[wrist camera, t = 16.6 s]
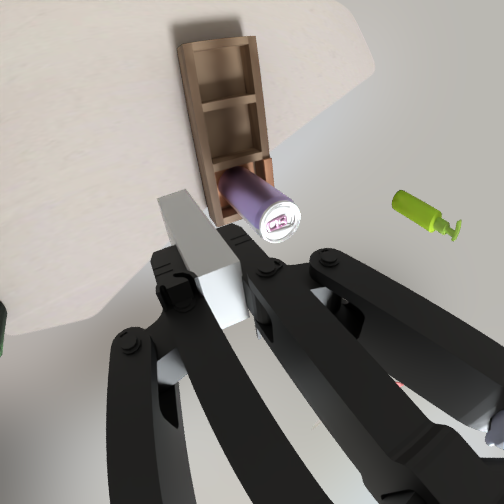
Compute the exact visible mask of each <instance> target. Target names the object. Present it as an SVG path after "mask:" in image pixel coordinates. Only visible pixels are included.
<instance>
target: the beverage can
mask: <svg viewBox="0 0 504 504" xmlns="http://www.w3.org/2000/svg"><path fill="white" fill-rule="evenodd" d="M218 188H219V192H220V194H221V196H222V197H223V198H224V199H225V200H226V201H227V202H228V203H229V204H230V205H231V206H232V207H233V208H234V210H235V211H236V212H237V213H238V214H239V215H240V216H241V217H242V218H243V219H244V220H245V221H246V222H247V223H248V224H249V225H250V226H251V228H252V229H253V230H254V231H255V232H256V233H257V234H258V235H259V236H260V237H261V238H263V239H265V240H267V241H268V242H271V243H279V242H283V241H285V240H287V239H288V238H290V237H291V236H292V235H293V234H294V233H295V231H296V230H297V228H298V226H299V223H300V219H301V214H300V210H299V208H298V206H297V205H296V204H295V203H294V202H293V201H292V199H290V198H289V197H287V196H286V195H284V194H283V193H282V192H280V191H279V190H277V189H276V188H275V187H273V186H272V185H270V184H269V183H267V182H266V181H264V180H263V179H261V178H260V177H258V176H257V175H255V174H254V173H252V172H251V171H249V170H248V169H246V168H244V167H241V166H235V167H232V168H230V169H228V170H226V171H225V172H224V173H223V175H222V176H221V178H220V180H219V185H218Z"/></svg>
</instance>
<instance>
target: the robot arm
mask: <svg viewBox="0 0 504 504" xmlns="http://www.w3.org/2000/svg"><path fill="white" fill-rule="evenodd" d="M157 200H158V203H159V207H160V210H161V214H162V217H163V220H164V223H165V227H166V230H167V233H168V236H169V239H170V242H171V245H172V246H170V247H167V248H164V249H162V250H159V251H156V252H154V253H153V255H152V258H151V261H150V262H151V265H152V269H153V272H154V275H155V279H156V282H157V286H156V295H157V297H158V299H159V301H160V303H161V305H162V307H163V311H162V313H161V316H160V317H159V318H158V320H157V321H156V322H155V323H153V324H152V325H151V326H149V327H148V328H147V329H143V328H140V327H130V328H127V329H125V330H123V331H122V332H120V333H119V334H118V335H117V336H116V337H115V339H114V340H113V343H112V346H111V352H110V362H109V374H108V388H107V413H106V448H107V449H106V450H107V473H108V486H109V496H110V504H196V499H195V494H194V489H193V484H192V478H191V473H190V467H189V461H188V455H187V448H186V441H185V434H184V427H183V419H182V411H181V402H180V392H179V382H178V381H179V380H180V379H182V378H183V377H184V376H185V375H187V374H188V375H189V378H190V380H191V383H192V385H193V388H194V390H195V392H196V395H197V397H198V399H199V401H200V404H201V406H202V408H203V410H204V412H205V415H206V417H207V419H208V421H209V423H210V425H211V427H212V429H213V431H214V433H215V435H216V437H217V440H218V442H219V443H220V445H221V447H222V449H223V451H224V453H225V455H226V457H227V459H228V461H229V463H230V465H231V466H232V468H233V470H234V472H235V474H236V475H237V477H238V479H239V481H240V482H241V484H242V486H243V488H244V489H245V491H246V493H247V494H248V496H249V498H250V499H251V501H252V503H253V504H334V503H333V502H332V501H331V500H330V499H329V497H328V496H327V495H326V494H325V492H324V491H323V489H322V488H321V487H320V486H319V484H318V483H317V481H316V480H315V479H314V477H313V476H312V474H311V473H310V471H309V470H308V469H307V467H306V466H305V464H304V463H303V461H302V460H301V458H300V457H299V455H298V454H297V453H296V451H295V450H294V448H293V447H292V445H291V444H290V442H289V441H288V439H287V438H286V436H285V434H284V433H283V432H282V430H281V428H280V427H279V425H278V424H277V422H276V421H275V419H274V417H273V416H272V414H271V413H270V411H269V409H268V408H267V406H266V405H265V403H264V401H263V400H262V398H261V396H260V395H259V393H258V392H257V390H256V388H255V387H254V385H253V383H252V382H251V380H250V378H249V376H248V375H247V373H246V371H245V370H244V368H243V366H242V365H241V363H240V361H239V359H238V358H237V356H236V354H235V352H234V351H233V349H232V347H231V345H230V343H229V342H228V340H227V338H226V336H225V334H224V333H223V331H222V329H224V328H226V327H228V326H231V325H233V324H235V323H238V322H240V321H242V320H245V319H247V318H249V317H250V316H249V310H250V312H251V313H252V315H253V316H254V321H255V327H256V334H257V337H258V339H260V338H261V335H262V337H263V338H264V340H265V341H266V343H267V344H268V346H269V347H270V349H271V350H272V351H273V353H274V354H275V356H276V357H277V359H278V360H279V362H280V363H281V364H282V366H283V368H284V369H285V370H286V372H287V373H288V375H289V376H290V378H291V379H292V380H293V382H294V383H295V385H296V386H297V388H298V389H299V391H300V392H301V393H302V395H303V396H304V398H305V399H306V400H307V402H308V403H309V405H310V406H311V407H312V409H313V410H314V411H315V413H316V414H317V416H318V417H319V419H320V420H321V421H322V423H323V424H324V425H325V427H326V428H327V429H328V431H329V432H330V434H331V435H332V436H333V438H334V439H335V440H336V442H337V443H338V444H339V446H340V447H341V448H342V450H343V451H344V452H345V454H346V455H347V456H348V458H349V459H350V460H351V461H352V463H353V464H354V465H355V467H356V468H357V469H358V470H359V472H360V473H361V475H362V479H363V483H364V485H365V486H366V488H367V489H368V490H369V492H370V493H371V494H372V495H373V497H374V498H375V499H376V501H377V502H378V503H379V504H504V458H480V457H479V456H478V455H477V454H476V453H475V452H474V450H473V449H472V448H471V447H470V446H469V445H468V443H466V441H465V440H464V439H463V438H462V437H461V435H460V434H459V433H458V432H456V431H455V430H454V429H453V428H451V427H449V426H447V425H441V424H435V423H433V422H431V421H430V420H429V419H428V418H427V417H426V416H425V415H424V414H423V413H422V411H421V410H420V409H419V408H418V407H417V406H416V405H415V404H414V402H413V401H412V400H411V399H410V398H409V397H408V396H407V394H406V393H405V392H404V391H403V390H402V389H401V388H400V387H399V386H398V384H397V383H396V382H395V381H394V380H393V379H392V378H391V377H390V376H392V377H393V378H395V379H396V380H398V381H399V382H401V383H402V384H404V385H405V386H407V387H408V388H409V389H411V390H412V391H414V392H415V393H417V394H418V395H420V396H422V397H423V398H424V399H426V400H427V401H429V402H430V403H432V404H433V405H435V406H436V407H438V408H439V409H441V410H442V411H444V412H445V413H447V414H448V415H450V416H451V417H453V418H455V419H456V420H457V421H459V422H461V423H463V424H465V425H466V426H468V427H471V428H474V429H476V430H479V431H484V432H487V433H486V436H485V442H486V444H487V445H488V446H493V445H495V446H497V447H499V448H501V449H503V450H504V347H503V346H501V345H500V344H498V343H497V342H495V341H494V340H492V339H491V338H489V337H488V336H486V335H485V334H483V333H481V332H480V331H478V330H477V329H475V328H473V327H472V326H470V325H469V324H467V323H465V322H464V321H462V320H460V319H459V318H457V317H455V316H454V315H452V314H451V313H449V312H447V311H446V310H444V309H442V308H441V307H439V306H437V305H436V304H434V303H432V302H430V301H429V300H427V299H425V298H424V297H422V296H420V295H419V294H417V293H415V292H413V291H411V290H410V289H408V288H406V287H405V286H403V285H401V284H399V283H398V282H396V281H394V280H392V279H390V278H389V277H387V276H385V275H383V274H382V273H380V272H378V271H376V270H374V269H373V268H371V267H369V266H367V265H365V264H363V263H361V262H360V261H358V260H356V259H354V258H352V257H350V256H349V255H347V254H345V253H343V252H341V251H339V250H336V249H332V248H324V249H319V250H317V251H315V252H313V254H312V255H311V256H310V260H309V261H310V262H309V263H303V264H297V265H286V264H285V263H284V262H282V261H281V260H279V259H276V258H269V257H268V256H267V255H266V253H265V252H264V251H263V250H262V249H261V248H260V247H259V246H258V245H257V244H256V243H255V242H254V240H252V238H251V237H250V236H249V235H247V233H246V232H245V231H244V230H243V229H242V227H239V226H237V225H235V224H233V223H231V224H228V225H225V226H222V227H220V228H217V229H215V227H214V226H213V225H212V223H211V222H210V221H209V219H208V218H207V217H206V215H205V214H204V213H203V211H202V210H201V209H200V207H199V206H198V205H197V203H196V202H195V201H194V199H193V198H192V197H191V195H190V194H189V193H188V191H187V190H186V189H184V190H181V191H178V192H175V193H172V194H169V195H166V196H163V197H160V198H157ZM343 298H344V299H345V300H344V299H343ZM346 300H347V301H346ZM248 309H249V310H248ZM260 334H261V335H260ZM388 374H389V375H390V376H389V375H388Z"/></svg>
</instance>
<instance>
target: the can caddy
mask: <svg viewBox="0 0 504 504" xmlns="http://www.w3.org/2000/svg"><path fill="white" fill-rule="evenodd" d="M177 52H178V58H179V64H180V70H181V76H182V82H183V87H184V93H185V98H186V104H187V109H188V114H189V120H190V125H191V130H192V135H193V140H194V145H195V150H196V155H197V160H198V165H199V170H200V174H201V179H202V184H203V188H204V193H205V198H206V202H207V207H208V211H209V216H210V218H211V219H212V221H213V222H214V223H215V225H216V226H217V227H220V226H223V225H226V224H229V223H232V222H234V221H238V220H241V219H243V218H242V217H241V216H240V215H239V214H238V213H237V212H236V211H235V210H234V208H233V207H232V206H231V205H230V204H229V203H228V202H227V201H226V200H225V199H224V198H223V197H222V196H221V194H220V192H219V188H218V185H219V180H220V178H221V176H222V175H223V173H224V172H225V171H226V170H228V169H230V168H232V167H235V166H241V167H244V168H246V169H248V170H249V171H251V172H252V173H254V174H255V175H257V176H258V177H260V178H261V179H263V180H264V181H266V182H267V183H269V184H270V185H272V186H273V187H274V178H273V168H272V158H270V155H269V145H268V135H267V126H266V117H265V108H264V99H263V91H262V82H261V74H260V66H259V58H258V51H257V43H256V36H244V37H231V38H221V39H213V40H205V41H198V42H192V43H186V44H182V45H181V46H179V47H178V48H177Z"/></svg>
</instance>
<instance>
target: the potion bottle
mask: <svg viewBox="0 0 504 504" xmlns="http://www.w3.org/2000/svg"><path fill="white" fill-rule="evenodd" d="M6 318H7V311H6V308H5V307H4V305H3V304H2V302H0V357H1V356H2V351H3V340H4V332H5V325H6Z"/></svg>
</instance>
